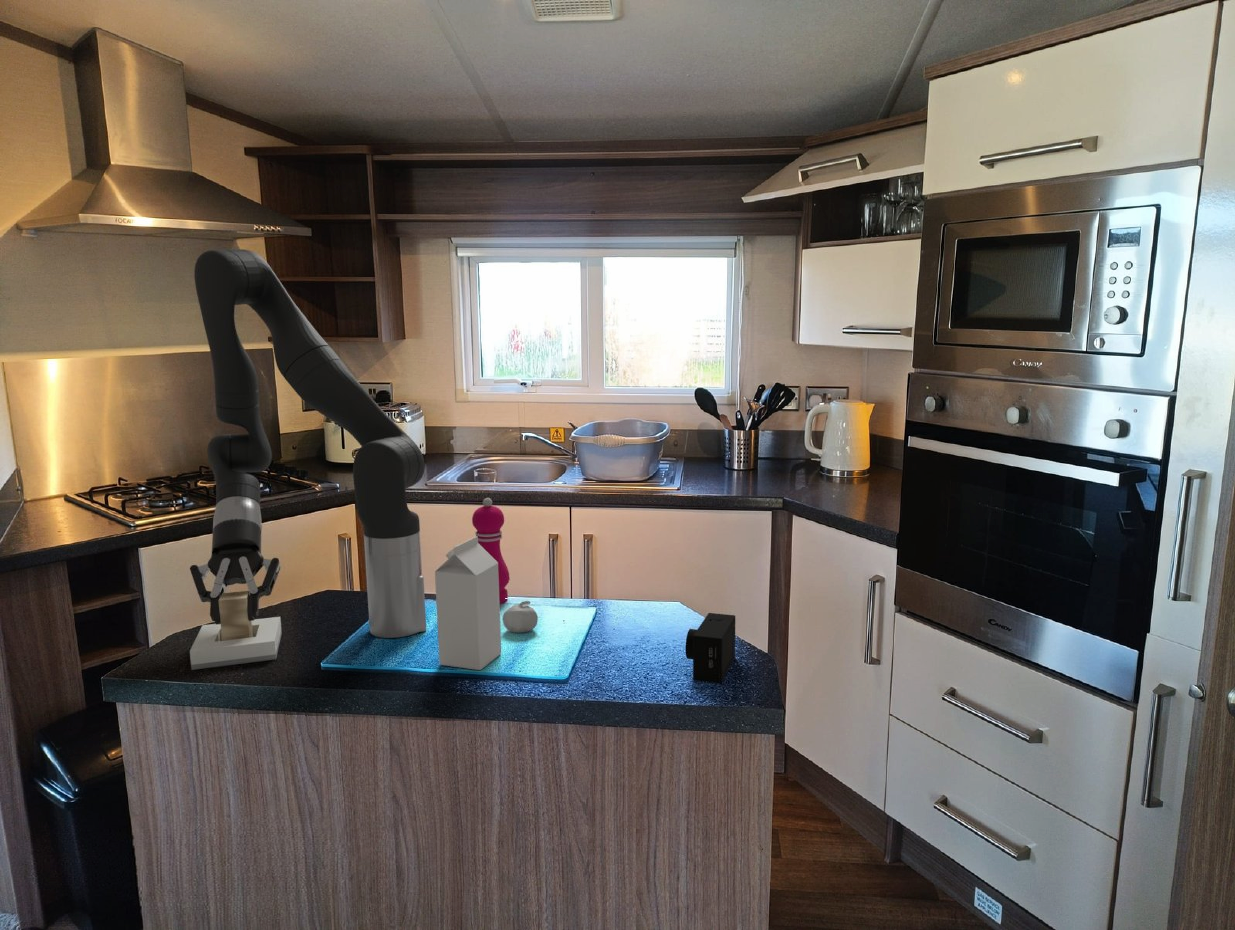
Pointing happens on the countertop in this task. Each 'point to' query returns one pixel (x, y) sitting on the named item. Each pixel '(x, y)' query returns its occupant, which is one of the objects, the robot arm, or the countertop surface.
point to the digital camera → (712, 647)
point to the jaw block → (235, 616)
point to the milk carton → (468, 607)
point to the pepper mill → (492, 539)
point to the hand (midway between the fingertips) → (234, 619)
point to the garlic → (520, 618)
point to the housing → (236, 645)
